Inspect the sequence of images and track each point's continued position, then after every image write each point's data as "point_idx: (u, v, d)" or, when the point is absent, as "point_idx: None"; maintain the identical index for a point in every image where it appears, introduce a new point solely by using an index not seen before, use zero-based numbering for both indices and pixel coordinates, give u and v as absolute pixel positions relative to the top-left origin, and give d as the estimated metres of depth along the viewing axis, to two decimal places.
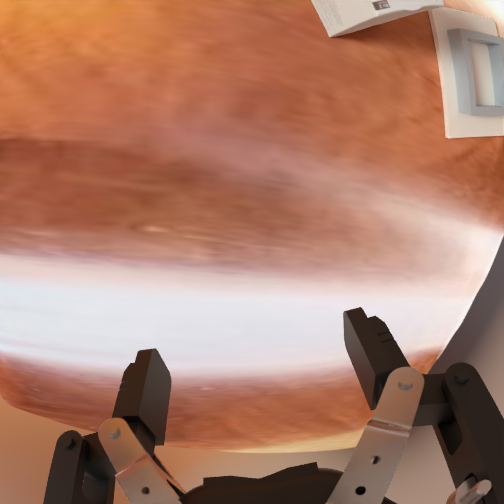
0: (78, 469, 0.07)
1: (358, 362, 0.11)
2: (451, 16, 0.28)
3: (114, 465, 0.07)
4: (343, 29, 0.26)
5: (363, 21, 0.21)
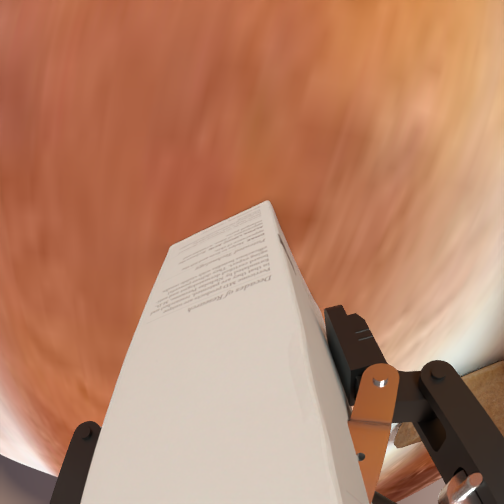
0: None
1: (337, 358, 0.11)
2: None
3: None
4: (145, 309, 0.11)
5: (98, 441, 0.06)
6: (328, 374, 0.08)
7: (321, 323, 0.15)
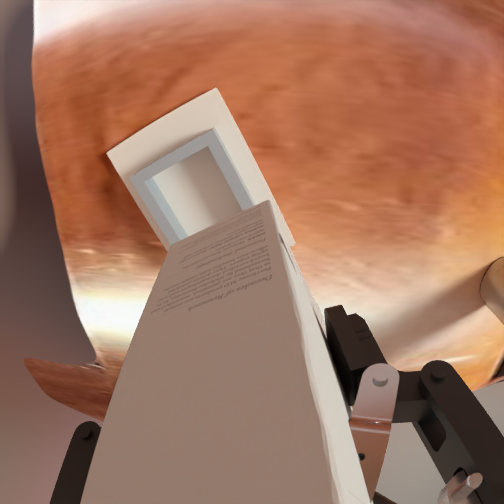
0: None
1: (337, 358, 0.11)
2: None
3: None
4: (145, 308, 0.11)
5: (98, 440, 0.06)
6: (329, 373, 0.08)
7: (321, 322, 0.15)
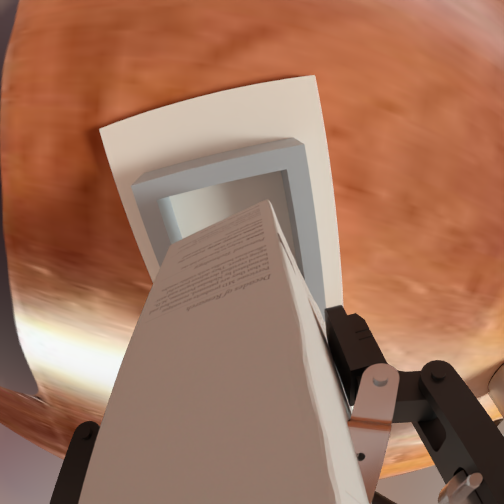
0: None
1: (337, 358, 0.11)
2: None
3: None
4: (144, 308, 0.11)
5: (96, 440, 0.06)
6: (327, 373, 0.08)
7: (321, 322, 0.15)
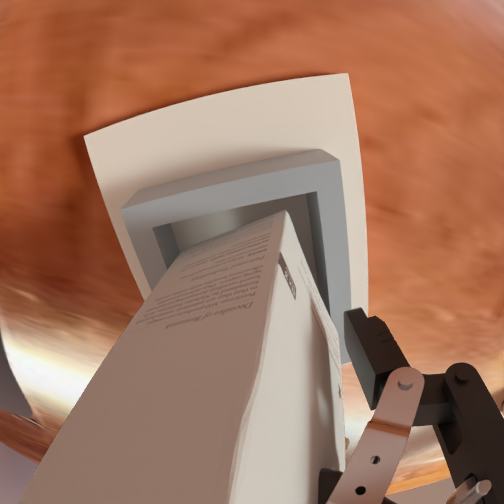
0: None
1: (358, 362, 0.11)
2: None
3: None
4: (134, 317, 0.11)
5: (52, 443, 0.06)
6: (295, 424, 0.06)
7: (331, 348, 0.14)
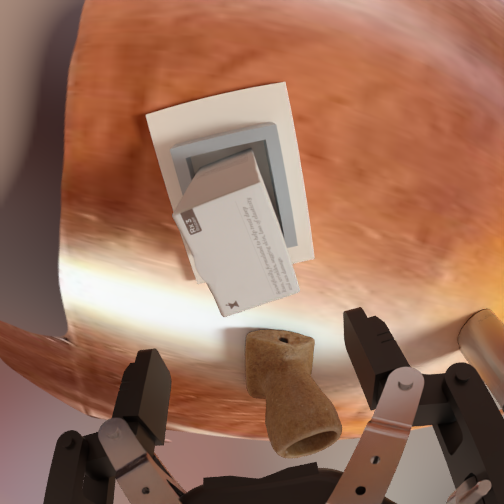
0: (78, 469, 0.07)
1: (358, 362, 0.11)
2: None
3: (114, 465, 0.07)
4: (193, 179, 0.26)
5: (181, 199, 0.21)
6: (265, 189, 0.23)
7: None
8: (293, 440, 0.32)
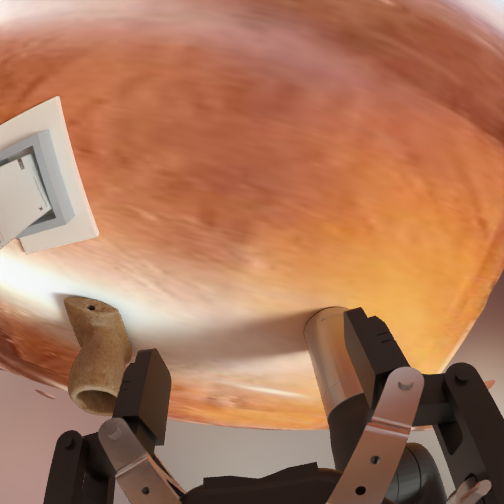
0: (78, 469, 0.07)
1: (358, 362, 0.11)
2: (72, 233, 0.39)
3: (114, 465, 0.07)
4: None
5: None
6: (1, 184, 0.26)
7: (44, 196, 0.33)
8: (74, 391, 0.36)
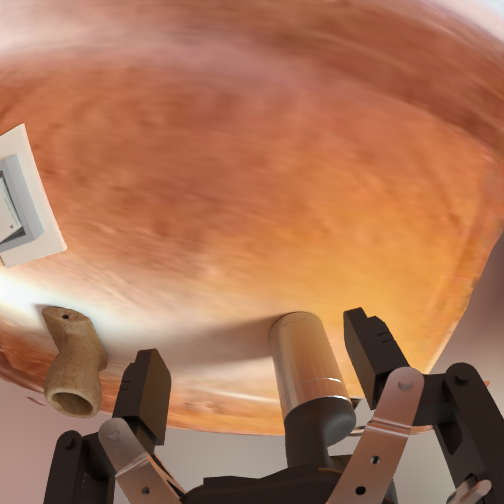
0: (78, 469, 0.07)
1: (358, 362, 0.11)
2: (43, 248, 0.41)
3: (114, 465, 0.07)
4: None
5: None
6: None
7: (14, 215, 0.35)
8: (48, 393, 0.36)
